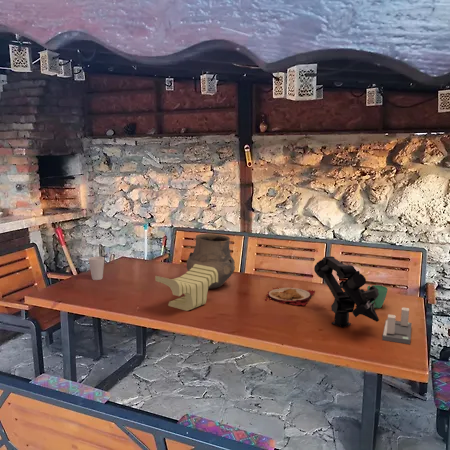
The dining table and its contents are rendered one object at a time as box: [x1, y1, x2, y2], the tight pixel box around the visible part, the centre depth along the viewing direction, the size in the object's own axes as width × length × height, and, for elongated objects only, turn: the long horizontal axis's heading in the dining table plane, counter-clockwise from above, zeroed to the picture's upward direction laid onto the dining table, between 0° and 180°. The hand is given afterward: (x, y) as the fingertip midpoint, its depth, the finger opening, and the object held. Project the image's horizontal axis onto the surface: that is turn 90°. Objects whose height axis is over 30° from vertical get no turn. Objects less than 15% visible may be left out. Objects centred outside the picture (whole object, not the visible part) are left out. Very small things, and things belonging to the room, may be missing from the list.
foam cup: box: [88, 255, 105, 281], centre depth 284 cm, size 10×9×13 cm
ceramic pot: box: [186, 233, 236, 290], centre depth 268 cm, size 28×28×30 cm
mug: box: [366, 284, 389, 309], centre depth 232 cm, size 15×10×10 cm
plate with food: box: [264, 286, 316, 307], centre depth 251 cm, size 25×26×4 cm
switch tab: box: [400, 307, 410, 326], centre depth 205 cm, size 3×4×7 cm
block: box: [387, 313, 397, 334], centre depth 196 cm, size 3×4×7 cm
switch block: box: [381, 318, 412, 345], centre depth 201 cm, size 11×21×2 cm, turn 157°
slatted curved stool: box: [154, 264, 218, 312], centre depth 235 cm, size 30×16×18 cm, turn 143°
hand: (378, 321), depth 197 cm, fingers closed
